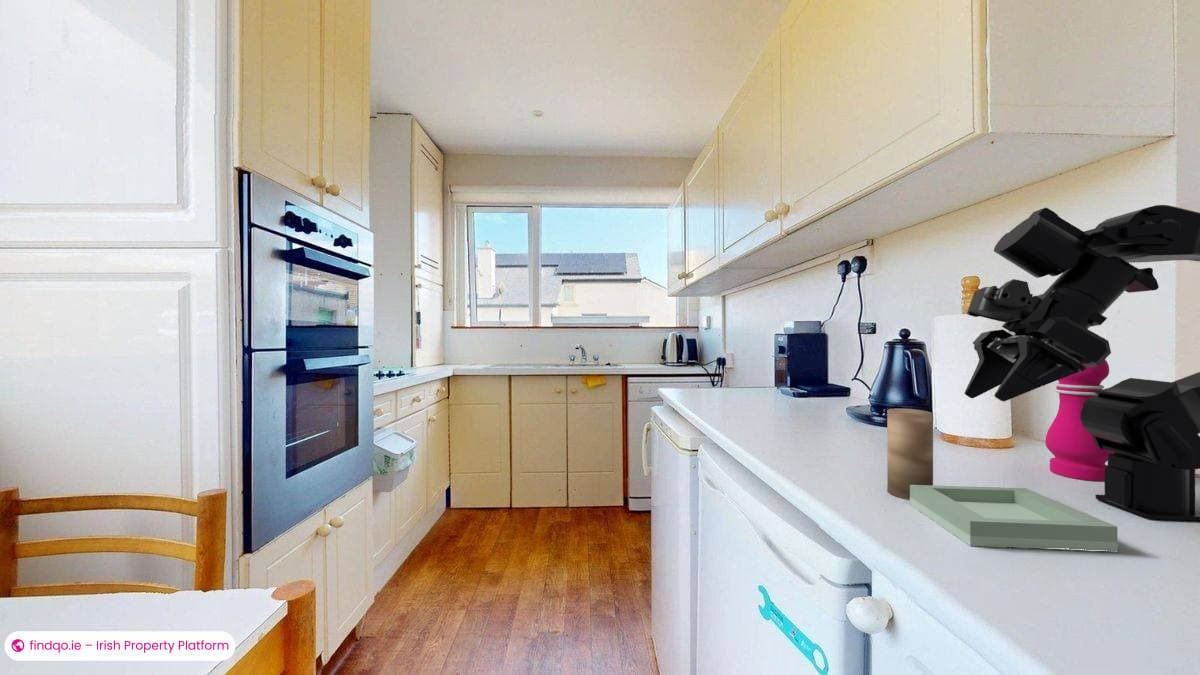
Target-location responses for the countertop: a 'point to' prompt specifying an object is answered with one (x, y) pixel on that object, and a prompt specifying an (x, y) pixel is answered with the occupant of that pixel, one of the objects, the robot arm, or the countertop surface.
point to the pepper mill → (1076, 428)
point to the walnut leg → (909, 450)
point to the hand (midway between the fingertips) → (982, 397)
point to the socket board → (1011, 518)
